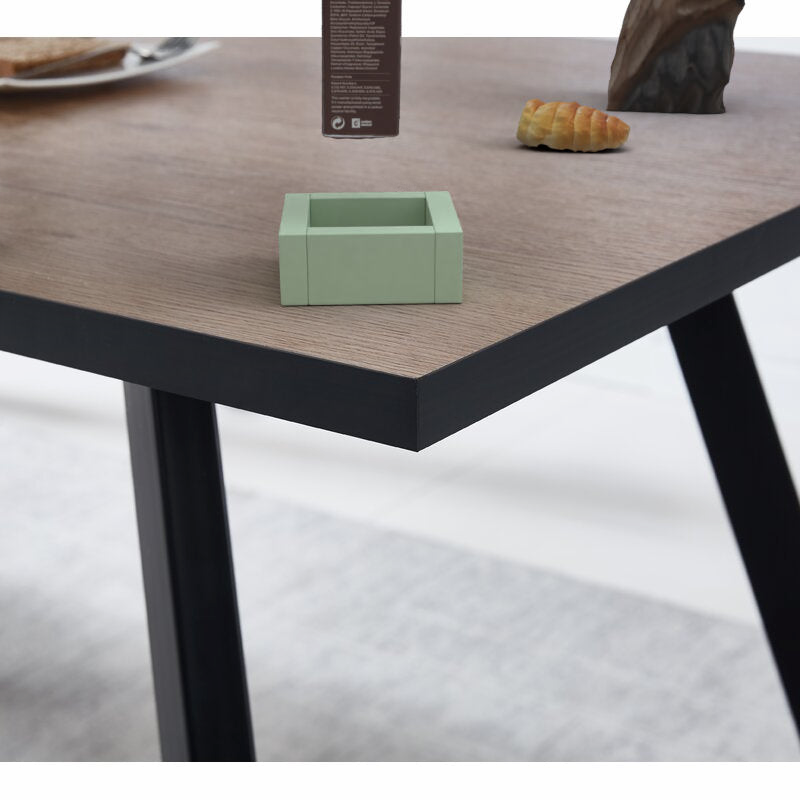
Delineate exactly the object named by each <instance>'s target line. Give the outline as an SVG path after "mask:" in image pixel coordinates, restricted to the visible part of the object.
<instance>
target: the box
mask: <svg viewBox="0 0 800 800" xmlns="http://www.w3.org/2000/svg"><path fill="white" fill-rule="evenodd" d="M402 9H403V0H321V28H320V29H321V135H322V136H323V137H324V138H331V139H334V140H345V139H346V140H347V139H349V140H364V139H368V140H373V139H384V138H395V137H398V136H399V135H400V119H401V89H402V87H401V85H402V81H401V80H402V35H403V34H402V33H403V32H402V27H403V25H402V22H403V21H402V19H403V18H402V15H403V12H402V11H403V10H402Z"/></svg>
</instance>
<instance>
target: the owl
mask: <svg viewBox="0 0 800 800" xmlns="http://www.w3.org/2000/svg"><path fill="white" fill-rule="evenodd" d="M745 1H746V0H630V1H629V2H628V5H627V7H626V10H625V12H624V17H623V19H622V24H621V29H620V31H619V36H618V39H617V44H616V49H615V54H614V57H613V59H612V62H611V65H610V76H609V80H608V87H607V106H606V111H608V112H610V111H612V112H613V111H614V112H619V111H620V112H639V113H641V112H642V113H667V114H669V113H670V114H681V113H682V114H697V115H698V114H699V115H709V114H710V115H713V114H715V115H716V114H723V113H724V114H725V113H726V111H727V109H726V106H725V104H724V92H725V89H726V86H727V85H728V84H729V83H730V79H731V73H732V68H733V66H734V60H735V54H736V51H735V50H736V47H735V40H734V32H735V28H736V25H737V22H738V18H739V16H740V14H741V13H742V11H743V10H744V8H745V6H746V2H745Z"/></svg>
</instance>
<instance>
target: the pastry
mask: <svg viewBox="0 0 800 800" xmlns="http://www.w3.org/2000/svg"><path fill="white" fill-rule="evenodd" d="M630 133H631V127H630V125H629V124H627V123H626V122H624V121H623V120H621V118H619V117H617V116H614V115H609V114H607V113H605V112H603V111H601V110H599V109H596V108H594V107H591V106H587V105H586V106H585V105H584V106H583V105H581V104H580V103H578V102H577V101H571V102H564V101H557V100H556V101H552V102H548V103H547V102H544V101H542V100H540V99H538V98H532V99H529V100H528V101H526V102H525V106H524V107H523V109H522V111H521V114H520V116H519V121H518V125H517V130H516V133H515V136H516V137H515V138H516V139H517V141H519V142H520V143H521V144H523V145H525V146H527V147H528V148H531V147H536V148H538V146H539V145H545V146H547V147H548V148H550V149H553V150H561V151H563V150H566V149H567V150H572V151H573V152H574V153H576V152H577V151H581V152H583V153H586V152H591V153H592V152H593V153H596V152H598V151H603V150H605V149H619V148H620V147H622V146H624V145H625V144H626V143H627V142H628V140H629V136H630Z"/></svg>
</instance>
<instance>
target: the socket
mask: <svg viewBox="0 0 800 800" xmlns="http://www.w3.org/2000/svg"><path fill="white" fill-rule="evenodd" d="M277 236H278V237H277V239H278V263H279V264H278V265H279V267H278V268H279V286H280V287H279V289H280V291H279V292H280V305H281V306H282V307H283V306H284V307H285V306H286V307H287V306H288V307H289V306H308V305H309V306H336V305H337V306H343V305H345V306H347V305H403V304H404V305H405V304H406V305H407V304H408V305H409V304H412V305H413V304H462V303H463V272H464V271H463V269H464V268H463V266H464V263H463V261H464V260H463V259H464V231H463V228H462V226H461V222H460V219H459V216H458V214H457V211H456V208H455V205H454V202H453V200H452V197H451V194H450V191H448V190H444V191H443V190H442V191H441V190H439V191H438V190H436V191H435V190H434V191H430V190H429V191H367V192H364V191H362V192H359V191H358V192H356V191H355V192H289V193H288V192H287V193H285V195H284V201H283V206H282V212H281V218H280V224H279V228H278V234H277Z"/></svg>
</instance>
